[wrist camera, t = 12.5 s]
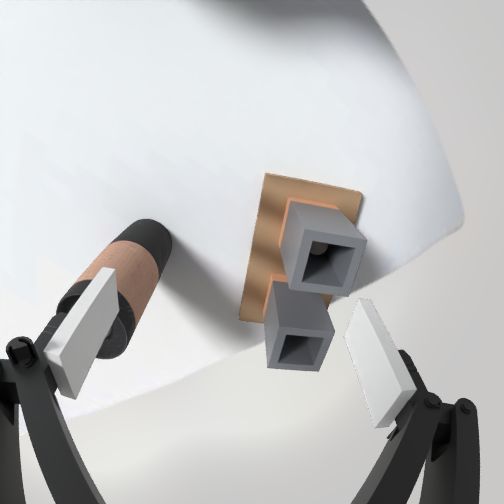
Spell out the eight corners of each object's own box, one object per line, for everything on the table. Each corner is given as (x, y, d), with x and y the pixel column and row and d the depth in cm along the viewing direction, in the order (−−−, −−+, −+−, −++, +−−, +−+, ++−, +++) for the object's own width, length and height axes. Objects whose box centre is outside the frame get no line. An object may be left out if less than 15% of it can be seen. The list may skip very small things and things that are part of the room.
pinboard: (265, 172, 39) (269, 186, 32) (359, 191, 40) (383, 209, 33) (238, 315, 48) (237, 350, 40) (319, 324, 49) (329, 358, 41)
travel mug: (184, 238, 43) (143, 329, 24) (155, 276, 45) (109, 372, 27) (140, 205, 40) (69, 275, 22) (114, 245, 43) (46, 327, 24)
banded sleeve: (271, 273, 44) (279, 326, 33) (315, 279, 44) (335, 331, 33) (263, 310, 46) (267, 367, 35) (304, 315, 47) (318, 371, 36)
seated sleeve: (288, 196, 39) (304, 228, 28) (335, 205, 40) (367, 240, 29) (278, 242, 42) (289, 289, 31) (323, 249, 42) (348, 296, 31)
